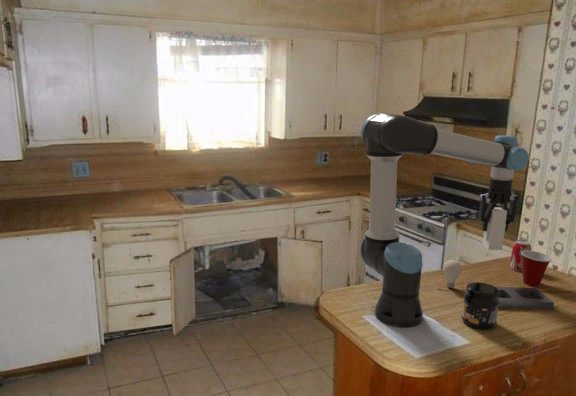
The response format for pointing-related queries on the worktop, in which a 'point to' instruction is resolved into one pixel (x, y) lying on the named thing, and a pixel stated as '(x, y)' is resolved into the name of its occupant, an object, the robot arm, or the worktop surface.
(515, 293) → the rail plate
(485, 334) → the worktop surface
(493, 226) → the square post
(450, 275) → the light bulb
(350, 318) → the worktop surface
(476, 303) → the supplement container
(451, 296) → the worktop surface
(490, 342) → the worktop surface
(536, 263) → the plastic cup
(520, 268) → the soda can
